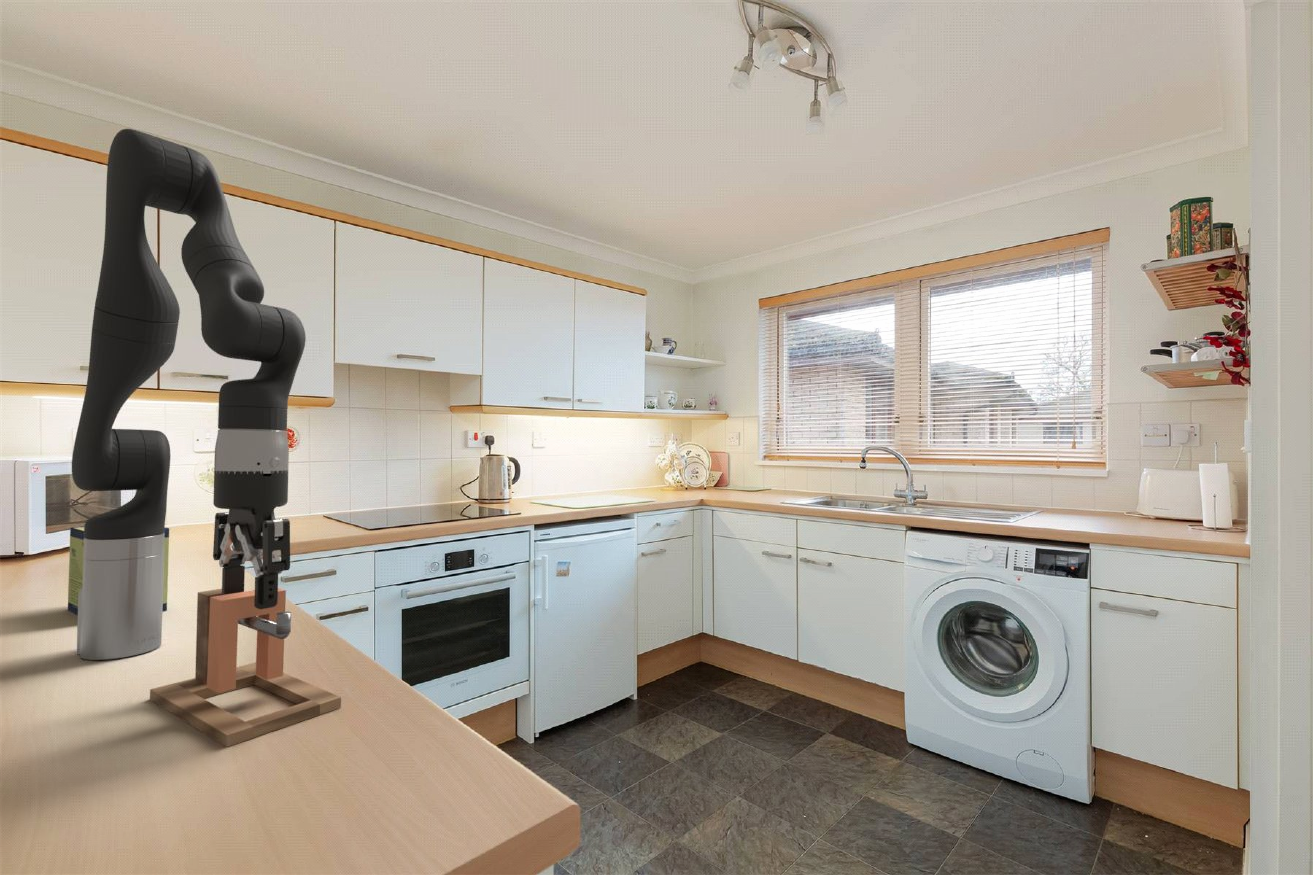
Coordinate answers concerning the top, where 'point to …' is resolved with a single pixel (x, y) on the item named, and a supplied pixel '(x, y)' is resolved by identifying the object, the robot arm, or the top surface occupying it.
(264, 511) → the robot arm
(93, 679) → the top surface
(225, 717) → the wooden hook stand
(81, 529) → the protein box
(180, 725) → the top surface
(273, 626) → the hook arm
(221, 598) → the salmon wooden arch
